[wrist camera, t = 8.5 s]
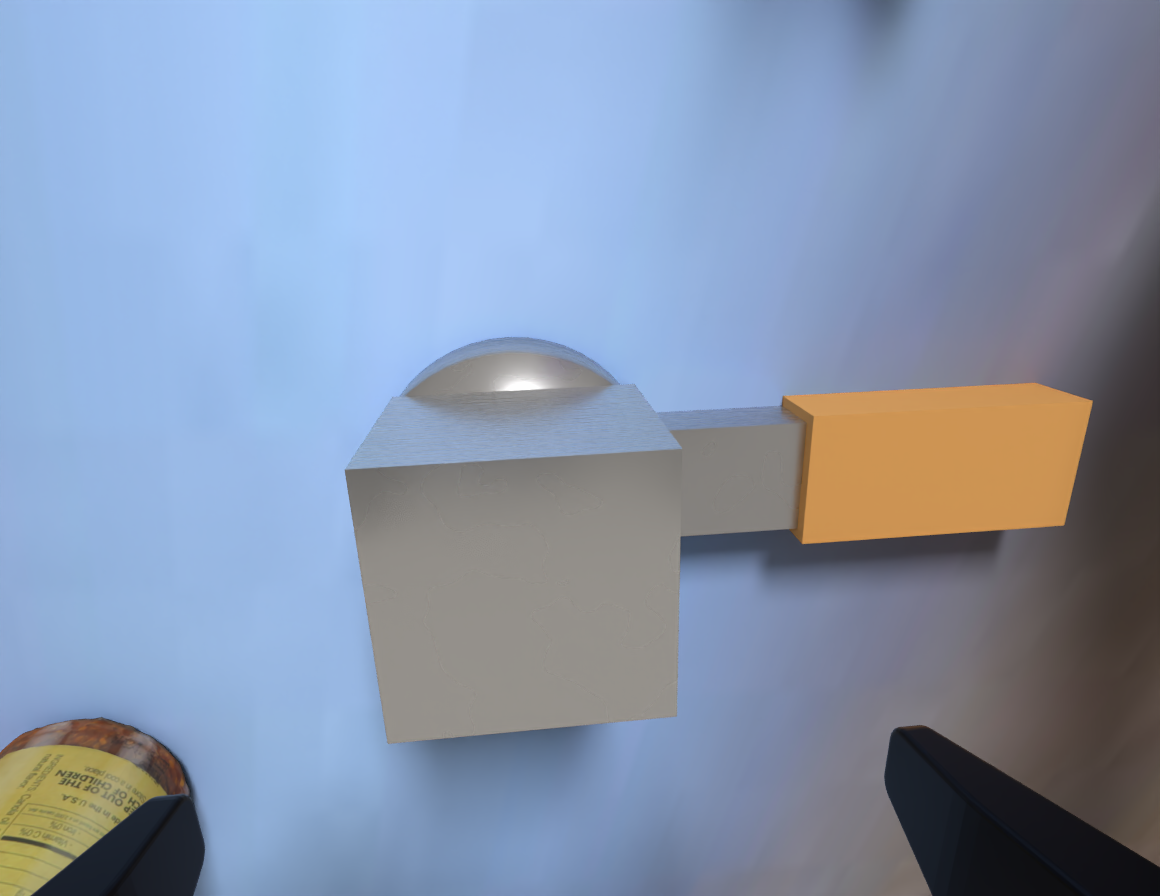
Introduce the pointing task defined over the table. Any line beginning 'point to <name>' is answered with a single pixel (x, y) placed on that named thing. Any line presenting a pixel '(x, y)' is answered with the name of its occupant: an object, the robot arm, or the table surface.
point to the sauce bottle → (73, 793)
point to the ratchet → (834, 450)
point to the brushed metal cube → (519, 560)
